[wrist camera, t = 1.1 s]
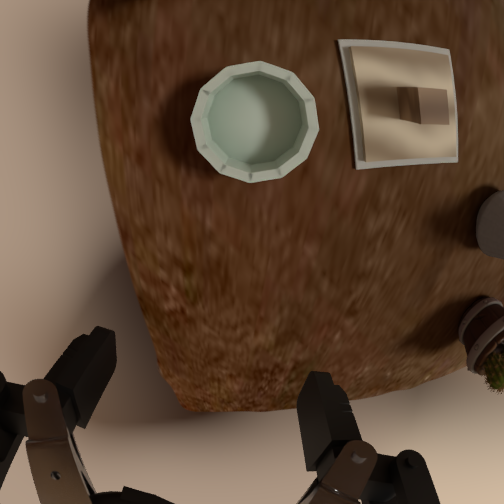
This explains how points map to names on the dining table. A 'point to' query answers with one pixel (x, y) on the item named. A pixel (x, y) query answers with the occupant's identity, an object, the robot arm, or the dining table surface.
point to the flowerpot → (485, 340)
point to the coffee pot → (491, 226)
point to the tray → (355, 110)
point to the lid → (404, 103)
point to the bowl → (254, 121)
